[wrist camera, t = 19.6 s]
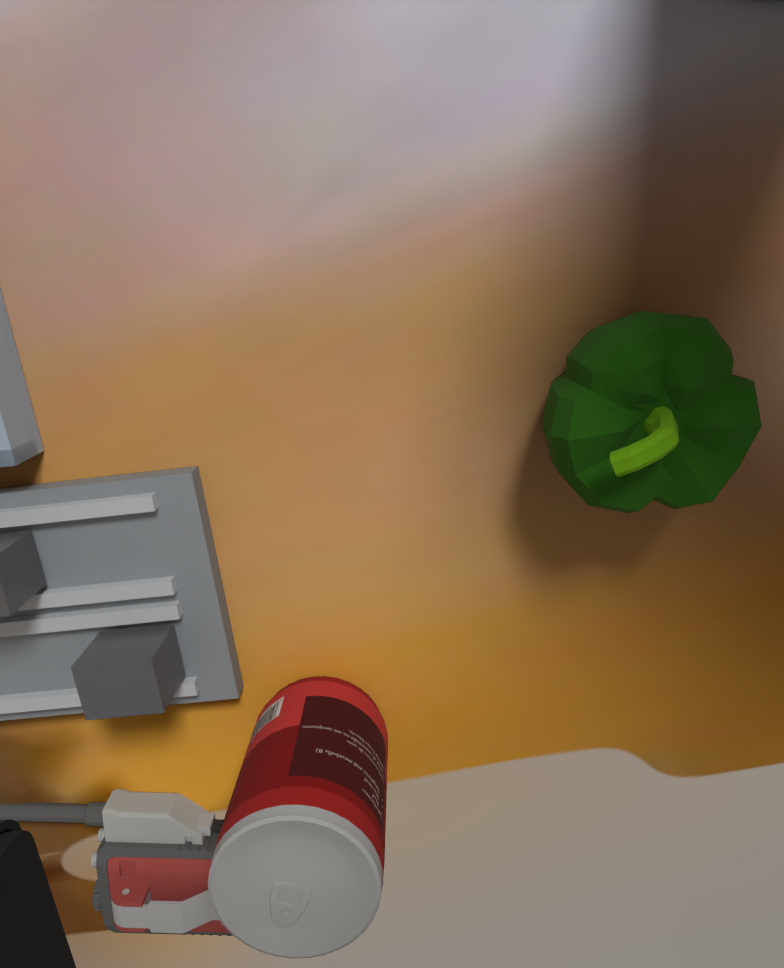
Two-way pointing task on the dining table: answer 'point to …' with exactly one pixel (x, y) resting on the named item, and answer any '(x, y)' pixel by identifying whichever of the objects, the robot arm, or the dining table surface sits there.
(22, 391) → the blue-grey tray
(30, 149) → the dining table surface
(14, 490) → the breaker panel
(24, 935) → the robot arm
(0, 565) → the block
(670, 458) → the bell pepper
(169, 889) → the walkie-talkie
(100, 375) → the dining table surface
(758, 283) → the dining table surface
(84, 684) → the toggle plain
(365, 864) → the canned food
